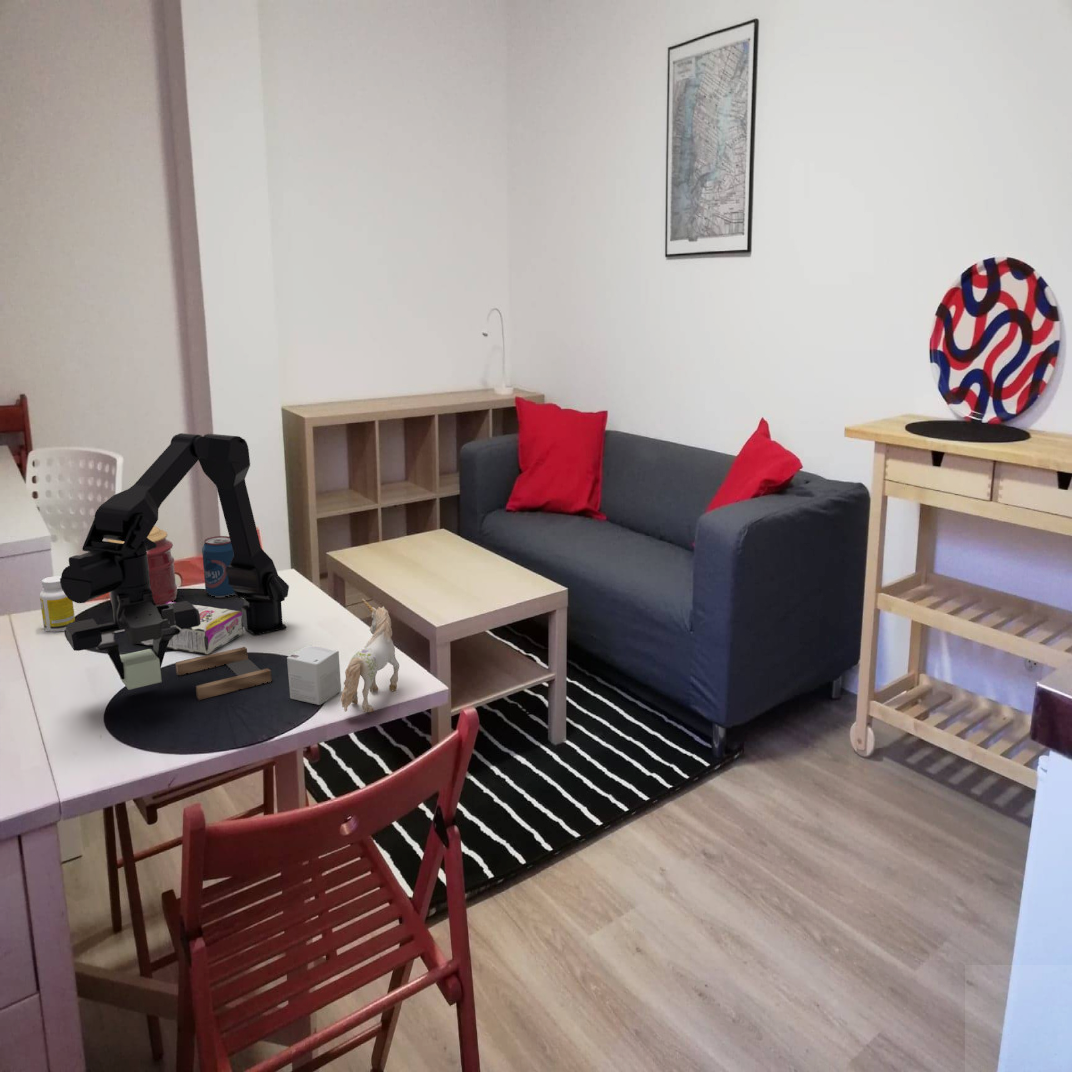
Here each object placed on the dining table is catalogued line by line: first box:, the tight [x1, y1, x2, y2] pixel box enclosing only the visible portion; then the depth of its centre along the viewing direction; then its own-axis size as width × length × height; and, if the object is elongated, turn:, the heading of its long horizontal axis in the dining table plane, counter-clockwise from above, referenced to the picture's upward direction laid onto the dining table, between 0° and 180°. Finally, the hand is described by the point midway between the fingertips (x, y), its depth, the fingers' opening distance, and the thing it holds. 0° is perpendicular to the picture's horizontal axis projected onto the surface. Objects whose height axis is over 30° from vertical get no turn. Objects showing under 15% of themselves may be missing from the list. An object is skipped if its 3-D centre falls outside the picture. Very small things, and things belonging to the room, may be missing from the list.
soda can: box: [201, 535, 236, 598], centre depth 190 cm, size 7×7×12 cm
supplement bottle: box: [39, 575, 76, 633], centre depth 170 cm, size 5×5×10 cm
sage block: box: [119, 648, 162, 691], centre depth 142 cm, size 5×5×4 cm
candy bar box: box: [137, 601, 244, 655], centre depth 166 cm, size 11×5×16 cm
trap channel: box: [175, 646, 272, 701], centre depth 151 cm, size 12×12×2 cm
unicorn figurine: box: [340, 598, 400, 714], centre depth 144 cm, size 7×20×13 cm, turn 0°
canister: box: [106, 525, 178, 605], centre depth 183 cm, size 13×13×18 cm
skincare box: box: [286, 644, 342, 706], centre depth 145 cm, size 6×6×7 cm
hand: (140, 674), depth 143 cm, fingers closed on sage block, 5 cm apart
